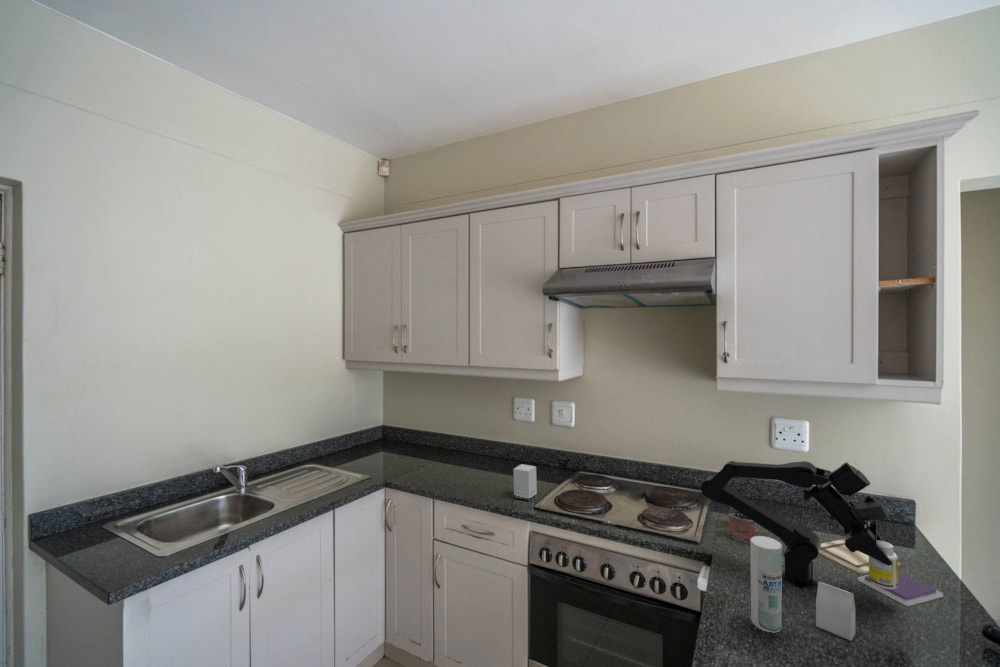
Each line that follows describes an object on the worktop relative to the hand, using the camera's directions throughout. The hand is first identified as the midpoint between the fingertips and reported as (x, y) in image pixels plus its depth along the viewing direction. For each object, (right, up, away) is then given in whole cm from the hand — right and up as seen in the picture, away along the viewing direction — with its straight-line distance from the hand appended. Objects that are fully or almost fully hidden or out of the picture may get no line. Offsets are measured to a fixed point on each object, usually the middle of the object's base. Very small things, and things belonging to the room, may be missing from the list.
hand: (890, 559), depth 113 cm
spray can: (-34, -13, -5) cm, 37 cm away
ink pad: (+10, -12, +8) cm, 17 cm away
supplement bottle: (-1, -7, +1) cm, 7 cm away
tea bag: (-19, -13, -7) cm, 24 cm away
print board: (+10, -12, +25) cm, 29 cm away
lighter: (-17, -12, +37) cm, 43 cm away
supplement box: (-87, -12, +76) cm, 116 cm away
